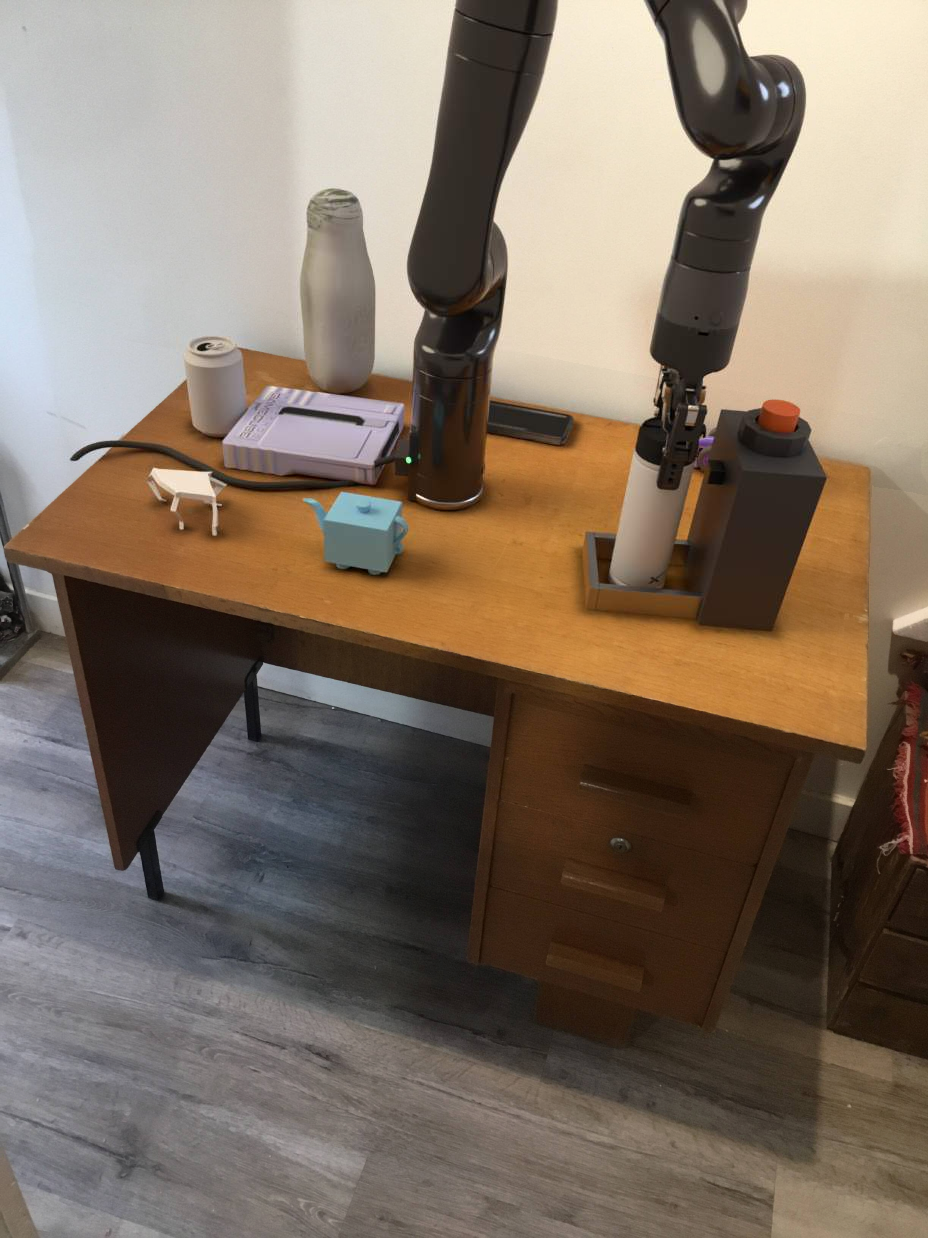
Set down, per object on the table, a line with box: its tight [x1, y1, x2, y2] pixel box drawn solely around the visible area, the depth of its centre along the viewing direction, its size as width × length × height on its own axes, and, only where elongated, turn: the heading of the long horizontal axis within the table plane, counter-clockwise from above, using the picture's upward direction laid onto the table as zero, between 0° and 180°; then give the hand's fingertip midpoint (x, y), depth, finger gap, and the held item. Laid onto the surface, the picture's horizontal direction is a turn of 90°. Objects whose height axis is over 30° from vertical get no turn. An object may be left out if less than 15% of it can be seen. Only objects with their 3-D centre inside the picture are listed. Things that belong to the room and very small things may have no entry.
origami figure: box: [146, 467, 228, 537], centre depth 107 cm, size 12×8×5 cm
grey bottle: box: [299, 188, 377, 395], centre depth 128 cm, size 10×10×28 cm
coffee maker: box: [684, 407, 828, 632], centre depth 96 cm, size 8×13×21 cm, turn 177°
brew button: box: [757, 399, 801, 433], centre depth 89 cm, size 4×4×2 cm
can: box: [183, 334, 248, 438], centre depth 122 cm, size 8×8×12 cm
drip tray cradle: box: [581, 459, 725, 620], centre depth 98 cm, size 12×11×16 cm
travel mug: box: [607, 416, 707, 589], centre depth 97 cm, size 6×7×20 cm
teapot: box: [302, 491, 409, 576], centre depth 101 cm, size 12×6×8 cm, turn 78°
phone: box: [487, 399, 574, 446], centre depth 131 cm, size 8×1×15 cm
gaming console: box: [221, 385, 405, 486], centre depth 122 cm, size 18×4×20 cm
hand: (663, 470), depth 94 cm, fingers closed on travel mug, 6 cm apart
